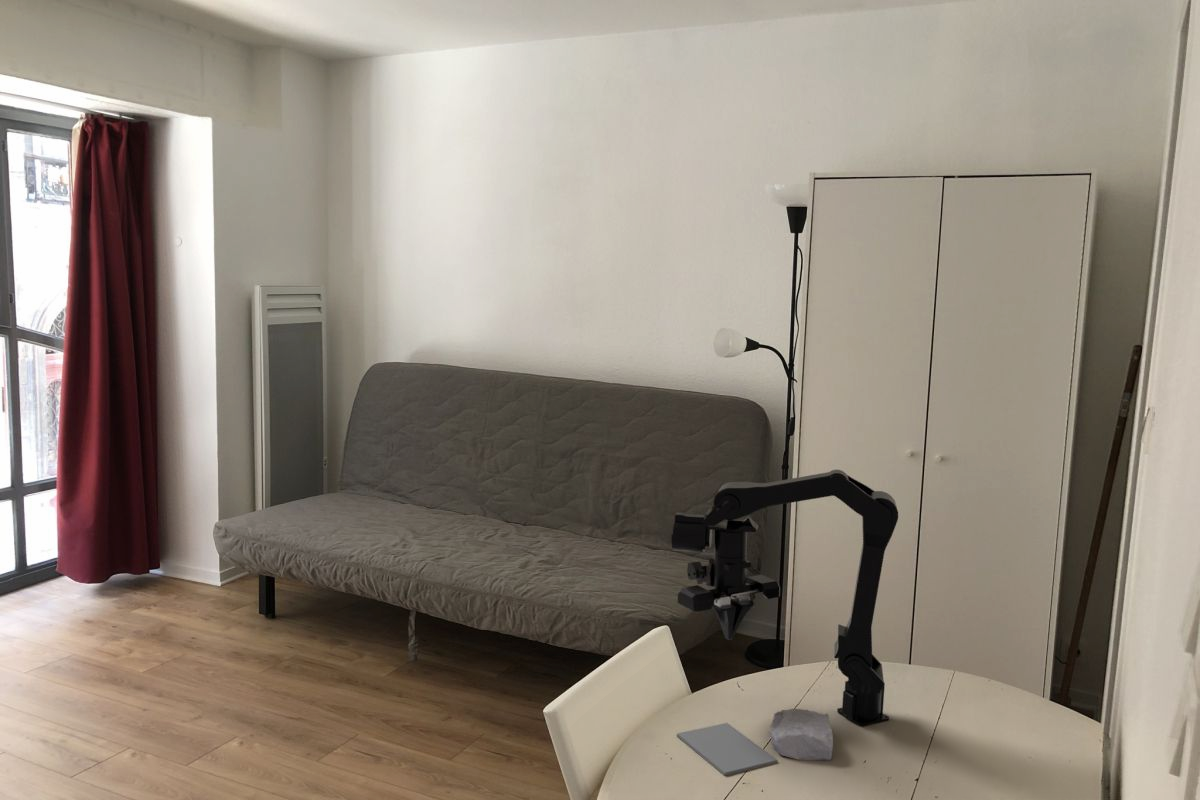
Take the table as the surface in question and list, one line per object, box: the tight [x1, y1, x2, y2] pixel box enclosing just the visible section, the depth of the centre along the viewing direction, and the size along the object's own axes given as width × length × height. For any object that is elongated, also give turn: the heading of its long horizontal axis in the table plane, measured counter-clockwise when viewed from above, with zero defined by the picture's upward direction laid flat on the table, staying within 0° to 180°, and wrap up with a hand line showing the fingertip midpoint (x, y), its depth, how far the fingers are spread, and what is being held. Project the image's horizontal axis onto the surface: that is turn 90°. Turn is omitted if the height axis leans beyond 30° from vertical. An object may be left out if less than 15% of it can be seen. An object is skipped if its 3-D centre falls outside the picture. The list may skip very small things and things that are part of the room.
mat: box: [676, 722, 778, 777], centre depth 153 cm, size 10×14×1 cm
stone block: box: [769, 708, 834, 762], centre depth 156 cm, size 12×5×10 cm
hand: (728, 638), depth 170 cm, fingers closed
